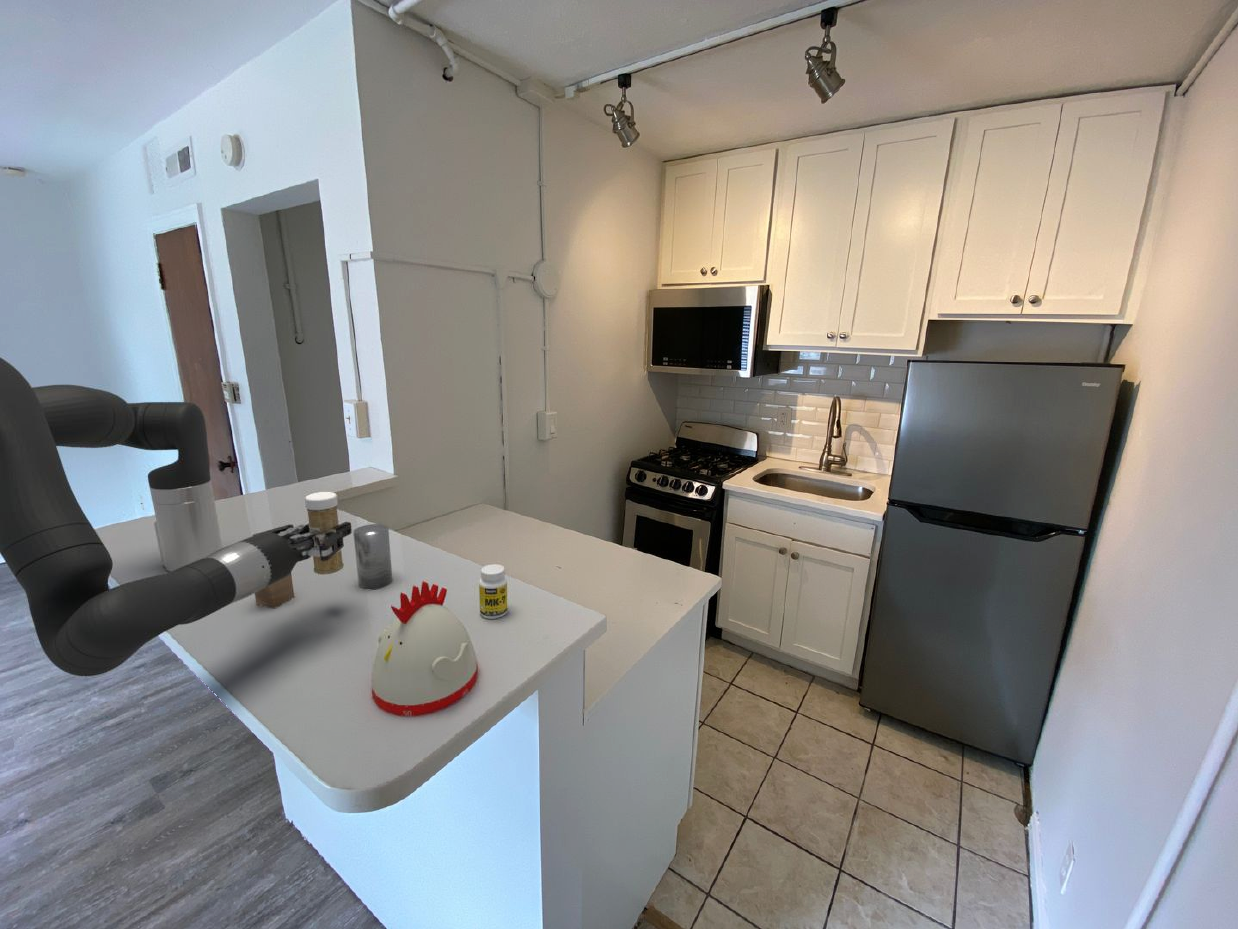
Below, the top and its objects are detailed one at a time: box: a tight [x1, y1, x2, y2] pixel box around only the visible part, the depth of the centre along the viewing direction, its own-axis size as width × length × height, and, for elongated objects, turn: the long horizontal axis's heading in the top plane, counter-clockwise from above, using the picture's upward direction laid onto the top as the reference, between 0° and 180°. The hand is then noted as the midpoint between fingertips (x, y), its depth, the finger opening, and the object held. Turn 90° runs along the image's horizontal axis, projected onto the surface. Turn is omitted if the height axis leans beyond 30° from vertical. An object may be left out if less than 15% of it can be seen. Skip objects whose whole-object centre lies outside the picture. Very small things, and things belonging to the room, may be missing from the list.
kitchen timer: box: [371, 580, 479, 717], centre depth 69 cm, size 14×14×15 cm
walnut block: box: [254, 572, 295, 608], centre depth 88 cm, size 4×4×10 cm
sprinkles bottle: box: [304, 491, 345, 576], centre depth 84 cm, size 5×5×13 cm
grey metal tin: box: [352, 523, 393, 590], centre depth 96 cm, size 6×6×11 cm
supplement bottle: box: [478, 564, 508, 620], centre depth 87 cm, size 5×5×8 cm
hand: (336, 525), depth 86 cm, fingers closed on sprinkles bottle, 4 cm apart
